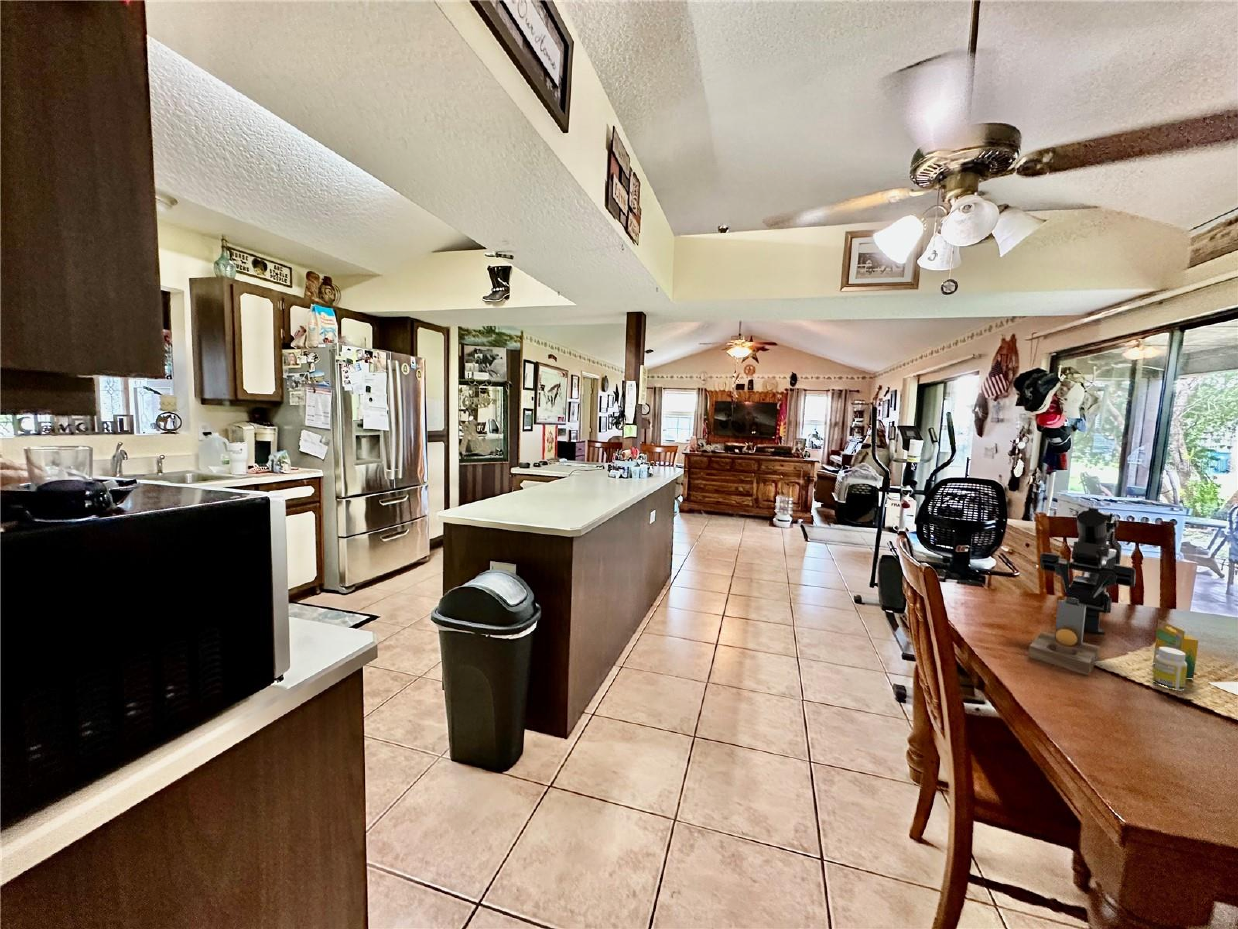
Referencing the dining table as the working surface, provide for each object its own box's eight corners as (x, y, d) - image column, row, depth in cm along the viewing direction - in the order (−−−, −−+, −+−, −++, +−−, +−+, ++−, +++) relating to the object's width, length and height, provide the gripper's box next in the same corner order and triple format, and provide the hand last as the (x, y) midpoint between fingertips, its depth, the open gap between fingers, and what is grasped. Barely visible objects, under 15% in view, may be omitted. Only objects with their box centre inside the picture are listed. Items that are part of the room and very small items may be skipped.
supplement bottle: (1174, 682, 110) (1178, 647, 109) (1190, 693, 105) (1195, 657, 105) (1147, 679, 111) (1150, 644, 111) (1162, 689, 107) (1166, 653, 106)
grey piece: (1056, 635, 126) (1060, 595, 125) (1082, 642, 122) (1086, 600, 121) (1054, 638, 125) (1058, 597, 124) (1080, 645, 121) (1084, 602, 120)
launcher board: (1041, 642, 130) (1042, 631, 129) (1098, 658, 121) (1099, 646, 121) (1028, 657, 121) (1029, 645, 121) (1088, 675, 112) (1089, 663, 112)
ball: (1051, 640, 124) (1053, 625, 124) (1071, 642, 123) (1072, 627, 123) (1059, 646, 120) (1061, 631, 120) (1079, 649, 119) (1081, 634, 119)
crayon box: (1194, 681, 111) (1200, 633, 110) (1178, 679, 111) (1184, 631, 110) (1167, 665, 118) (1172, 620, 117) (1152, 664, 118) (1157, 619, 117)
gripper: (1044, 524, 138) (1031, 569, 132) (1139, 537, 123) (1129, 587, 117) (1047, 547, 143) (1035, 590, 137) (1139, 562, 129) (1129, 611, 123)
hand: (1079, 594), depth 128 cm, fingers open, 5 cm apart
